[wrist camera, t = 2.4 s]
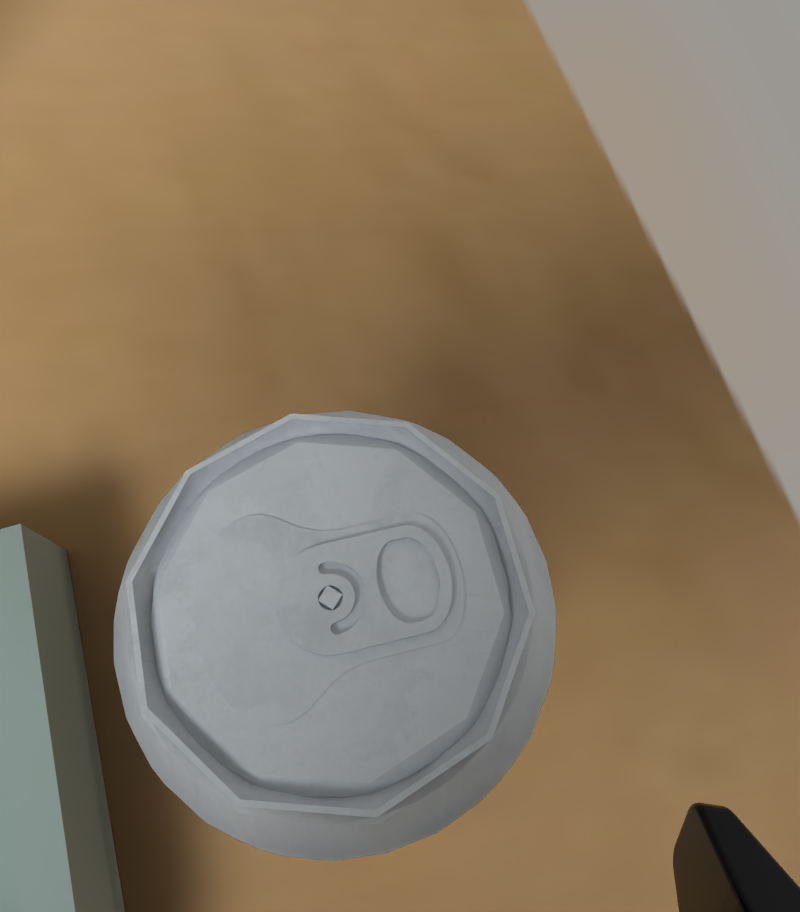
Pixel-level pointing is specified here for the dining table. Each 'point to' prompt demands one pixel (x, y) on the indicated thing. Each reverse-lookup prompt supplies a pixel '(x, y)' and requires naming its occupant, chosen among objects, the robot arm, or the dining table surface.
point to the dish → (48, 743)
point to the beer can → (334, 635)
